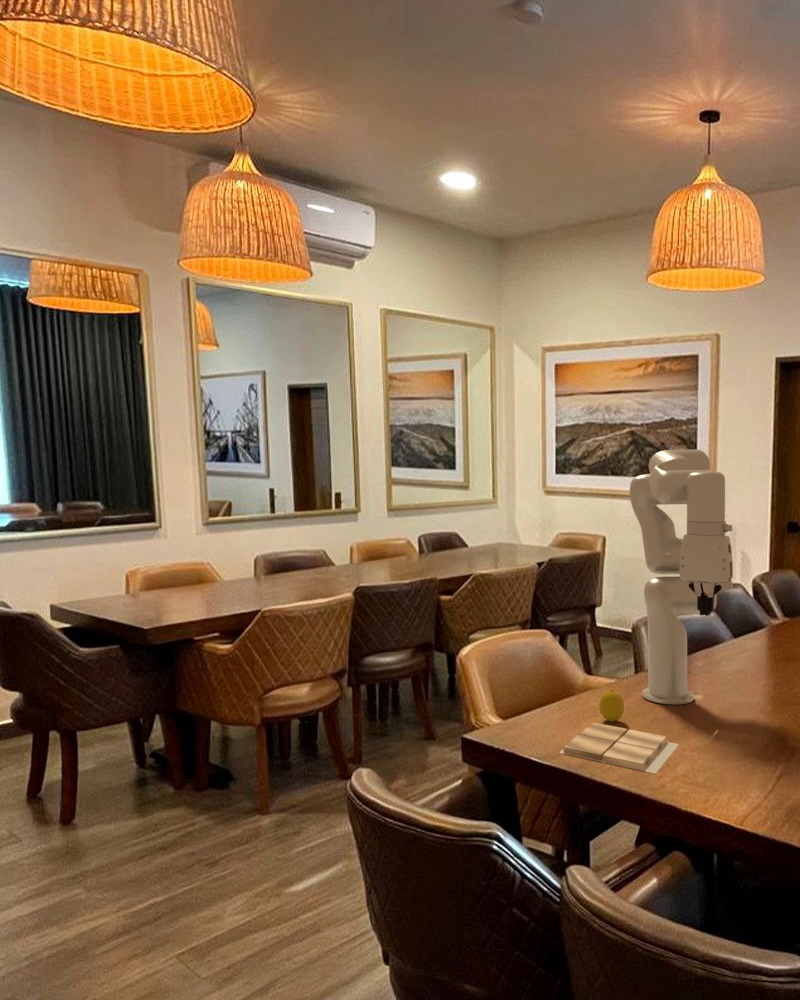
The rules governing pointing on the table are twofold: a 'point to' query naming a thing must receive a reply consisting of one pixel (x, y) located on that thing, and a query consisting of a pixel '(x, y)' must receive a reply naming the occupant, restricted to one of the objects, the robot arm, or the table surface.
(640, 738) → the plank far
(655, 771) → the underlay mat
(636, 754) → the plank near
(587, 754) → the row
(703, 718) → the table surface
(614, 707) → the lemon
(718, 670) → the table surface
